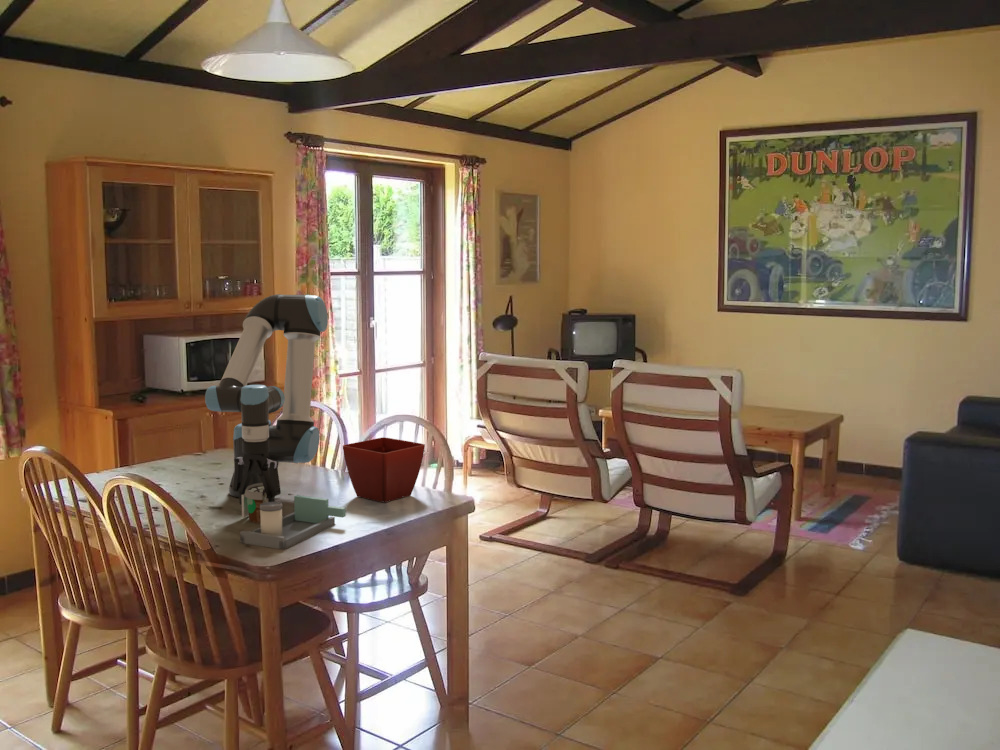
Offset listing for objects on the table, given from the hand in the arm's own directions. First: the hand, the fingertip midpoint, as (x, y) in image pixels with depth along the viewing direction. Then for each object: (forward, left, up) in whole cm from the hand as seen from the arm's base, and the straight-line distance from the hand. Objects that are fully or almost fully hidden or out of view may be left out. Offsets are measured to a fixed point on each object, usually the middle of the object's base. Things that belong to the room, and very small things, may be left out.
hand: (257, 517), depth 272 cm
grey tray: (+16, -8, -1) cm, 18 cm away
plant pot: (+19, +40, -2) cm, 45 cm away
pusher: (+19, +4, 0) cm, 19 cm away
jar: (+16, -16, 0) cm, 23 cm away
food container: (0, 0, -1) cm, 1 cm away
